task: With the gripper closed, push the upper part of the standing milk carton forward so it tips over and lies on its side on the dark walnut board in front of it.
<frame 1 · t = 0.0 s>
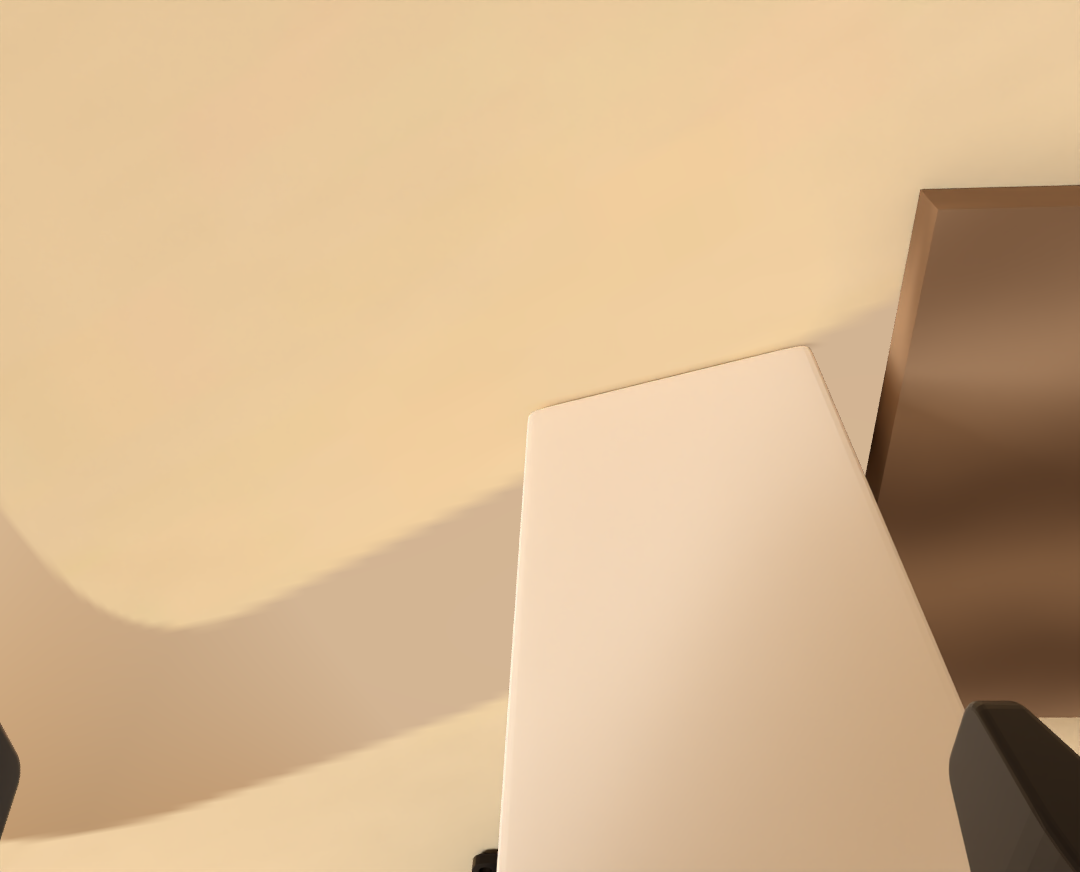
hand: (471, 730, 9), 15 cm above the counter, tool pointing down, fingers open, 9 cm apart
milk carton: (692, 479, 26), on the counter
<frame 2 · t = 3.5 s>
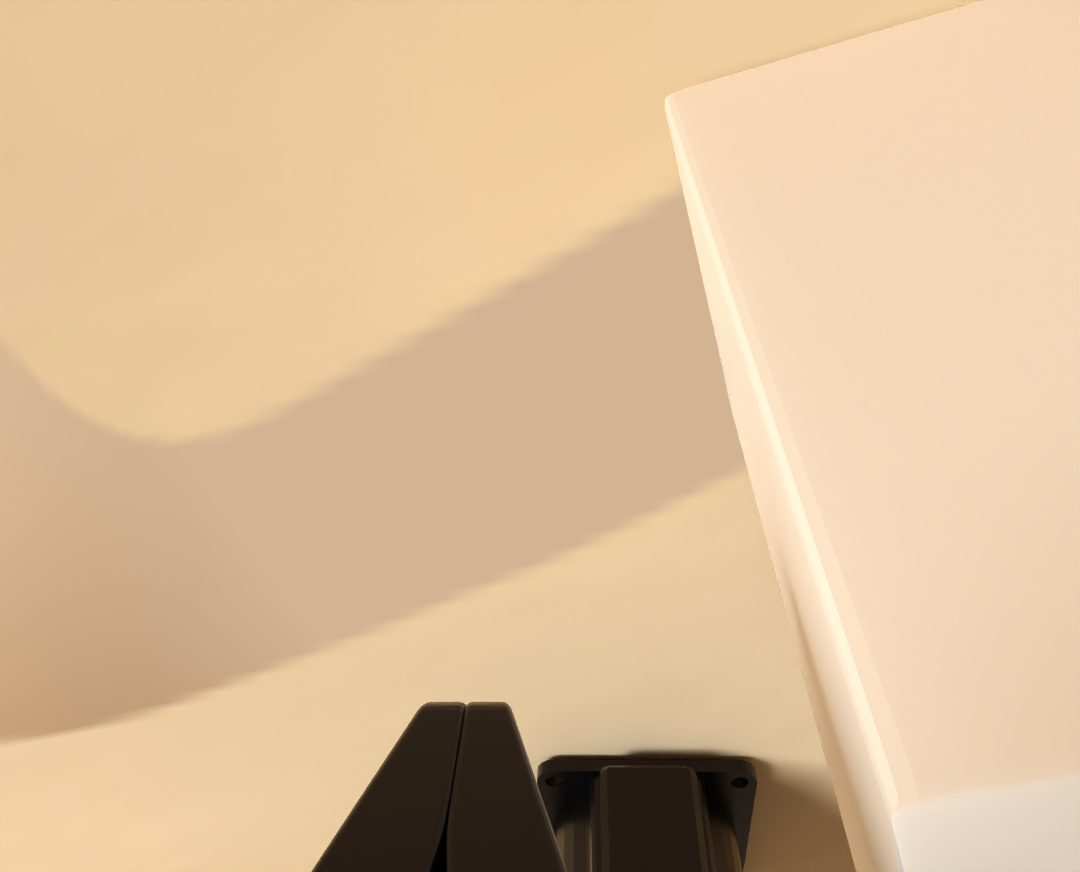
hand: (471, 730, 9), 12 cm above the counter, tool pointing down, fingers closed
milk carton: (872, 213, 19), on the counter, touching gripper
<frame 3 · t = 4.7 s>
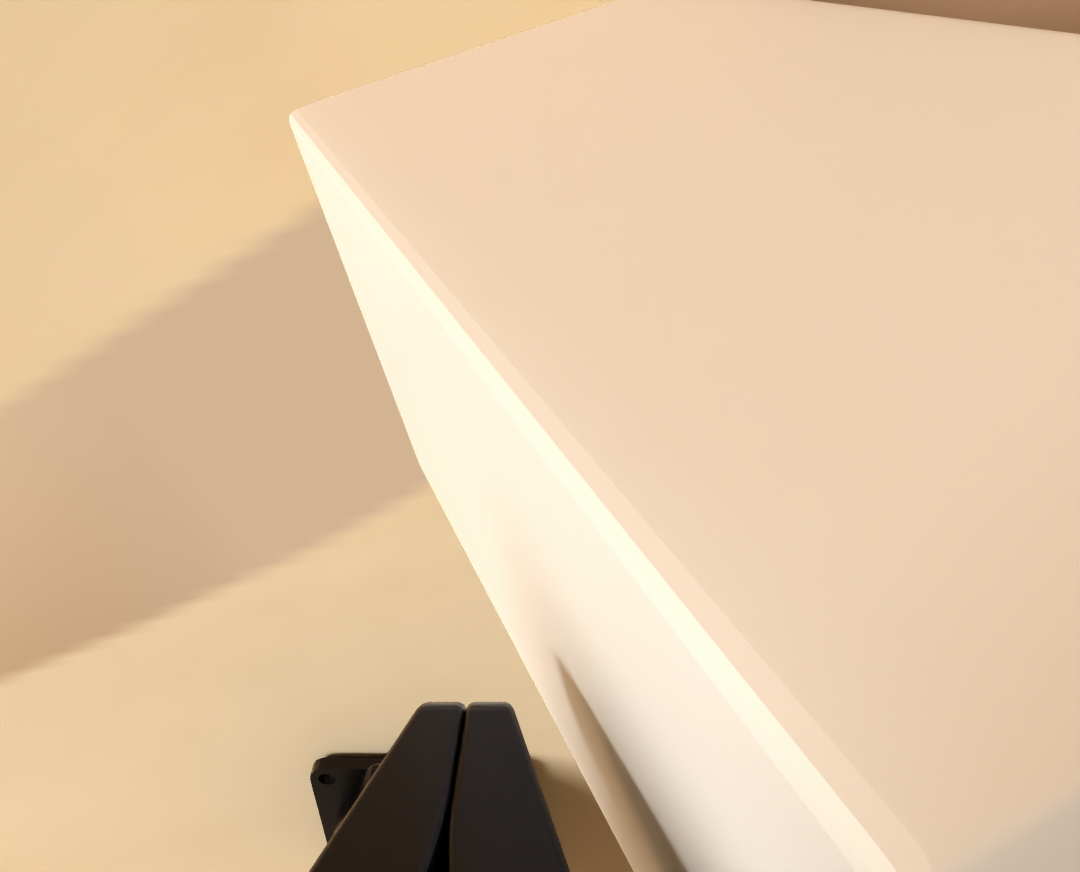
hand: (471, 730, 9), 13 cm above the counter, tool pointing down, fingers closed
milk carton: (531, 233, 18), point 1 cm above the counter, touching walnut board
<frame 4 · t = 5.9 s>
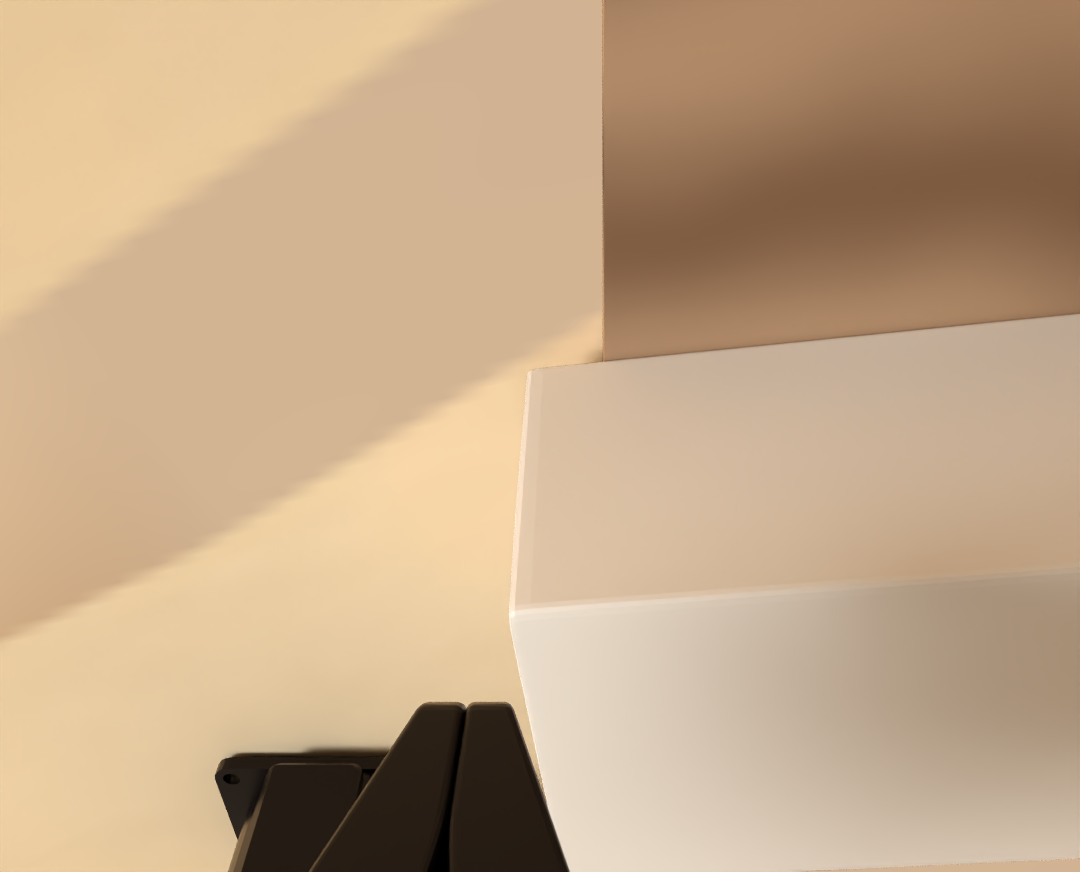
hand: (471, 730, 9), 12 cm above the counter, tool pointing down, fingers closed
milk carton: (525, 614, 19), point 5 cm above the counter, touching walnut board
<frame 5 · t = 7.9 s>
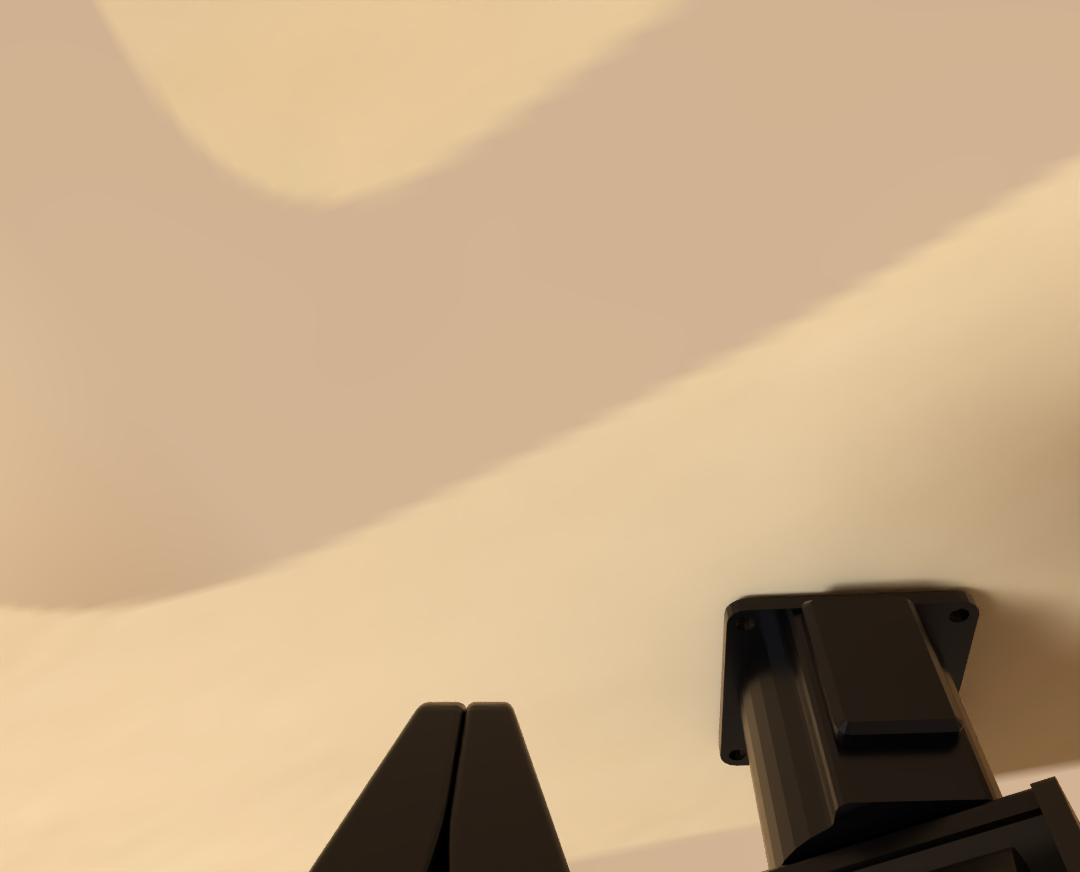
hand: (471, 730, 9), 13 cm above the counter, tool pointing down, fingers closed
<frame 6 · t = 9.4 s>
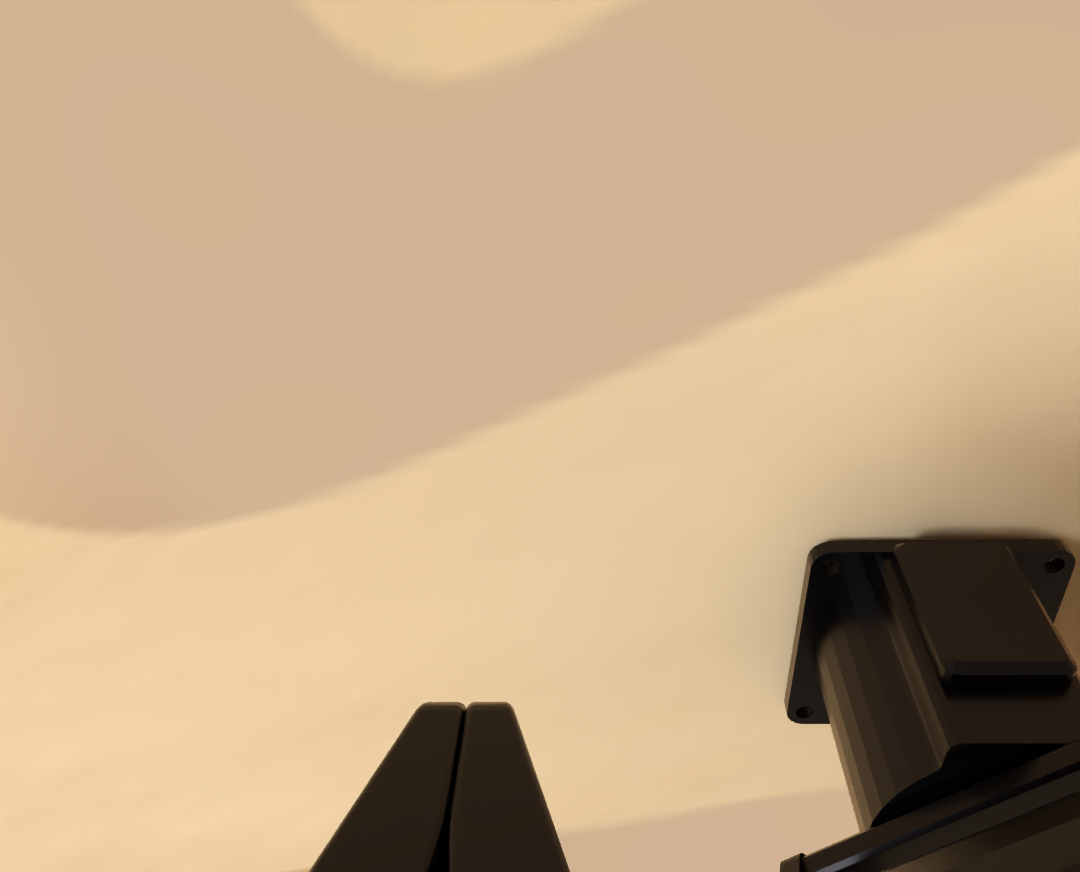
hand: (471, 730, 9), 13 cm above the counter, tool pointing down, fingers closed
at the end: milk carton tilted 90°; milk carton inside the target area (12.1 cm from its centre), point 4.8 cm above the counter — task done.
